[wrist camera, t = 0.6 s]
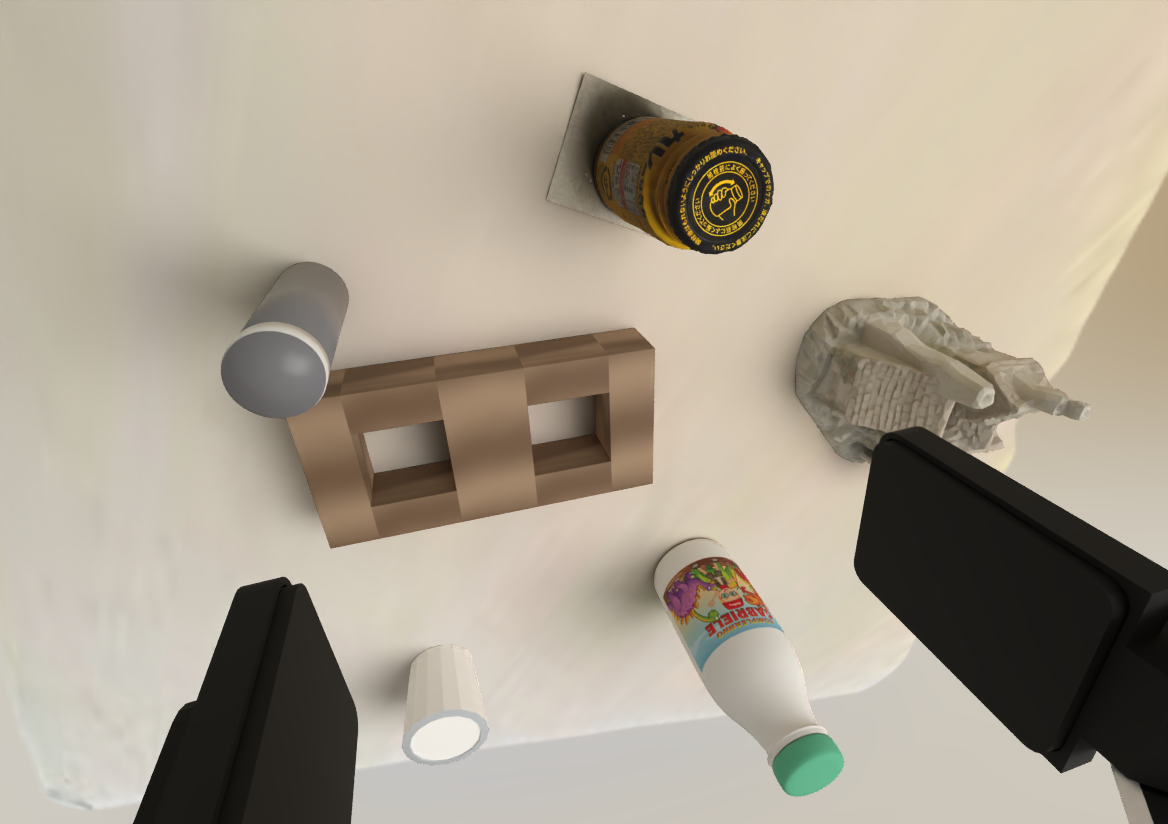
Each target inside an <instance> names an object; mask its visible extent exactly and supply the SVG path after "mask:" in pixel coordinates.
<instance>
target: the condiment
mask: <svg viewBox="0 0 1168 824" xmlns="http://www.w3.org/2000/svg"><path fill="white" fill-rule="evenodd" d="M622 115H625V117H624V118H623V116H622ZM585 172H587V174H588V178H587V177H586V176H585ZM589 179H591V181H592V182H591V183H589ZM773 191H774V183H773V176H772V172H771V165H770V163H769V161H768V160H767V158H766V157H765V155H764V154H763V153H762V151H761V150H760V149H759V148H758V146H757V145H756V144H754V143H752V142H751V141H749V140H748V139H746V138H744V137H739V136H738V135H734V134H732V133H731V132H729V131H728V130H726V129H725V128H723V127H720V126H718V125H716V124H712V123H705V122H700V121H699V122H696V121H694V120H692V119H689V118H687V117H685V116H682V115H680V114H678V113H676V112H673V111H671V110H669V109H667V108H664V107H662V106H660V105H657V104H655V103H653V102H651V101H649V100H646V99H644V98H642V97H640V96H638V95H635V94H633V93H631V92H628V91H626V90H624V89H622V88H619V87H617V86H615V85H613V84H610V83H608V82H606V81H604V80H602V79H600V78H597V77H595V76H593V75H590V74H588V73H586V72H585V75H584V78H583V81H582V84H581V88H580V90H579V93H578V96H577V100H576V103H575V106H574V109H573V113H572V116H571V119H570V122H569V125H568V129H567V132H566V135H565V139H564V142H563V145H562V149H561V151H560V155H559V159H558V163H557V166H556V169H555V172H554V175H553V179H552V183H551V186H550V190H549V193H548V196H547V201H550V202H553V203H555V204H558V205H561V206H564V207H567V208H570V209H573V210H576V211H579V212H582V213H585V214H588V215H591V216H594V217H597V218H600V219H603V220H606V221H609V222H612V223H615V224H618V225H621V226H624V227H627V228H630V229H632V230H635V231H638V232H641V233H644V234H647V235H650V236H653V237H655V238H656V239H658V240H660V241H661V242H663V243H665V244H666V245H669V246H673V247H676V248H679V249H690V250H695V251H699V252H700V253H704V254H719V253H723V252H727V251H734V250H736V249H738V248H739V247H741V246H742V245H744V244H745V243H746V242H748V241H749V240H750V239H751V238H752V237H753V236H754V235H755V234H756V233H757V231H758V230H759V229H760V227H761V226H762V224H763V222H764V220H765V218H766V216H767V214H768V212H769V210H770V207H771V205H772V196H773Z"/></svg>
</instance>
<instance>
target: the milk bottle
mask: <svg viewBox="0 0 1168 824" xmlns="http://www.w3.org/2000/svg"><path fill="white" fill-rule="evenodd" d="M654 586H655V589H656V592H657V594H658V596H659V598H660V600H661V602H662V604H663V606H664V608H665V610H666V612H667V614H668V616H669V618H670V620H671V622H672V624H673V626H674V628H675V630H676V632H677V634H678V636H679V638H680V640H681V642H682V644H683V646H684V648H685V650H686V651H687V653H688V655H689V657H690V659H691V661H692V663H693V665H694V667H695V669H696V671H697V673H698V674H699V676H700V678H701V680H702V682H703V683H704V685H705V687H706V689H707V690H708V692H709V693H710V695H711V696H712V698H713V699H714V701H715V702H716V703H717V705H718V706H719V707H720V708H721V709H722V710H723V711H724V712H725V713H726V714H727V715H728V716H729V717H730V718H731V719H733V720H734V721H735V722H736V723H738V724H739V725H740V726H741V727H743V728H744V729H745V730H746V731H747V732H749V733H750V734H751V735H752V736H753V737H754V738H755V739H756V740H757V741H758V742H759V744H760V745H761V746H762V747H763V748H764V750H765V751H766V753H767V755H768V759H767V760H768V764H769V765H770V766H771V767H772V769H773V772H774V774H775V776H776V778H777V781H778V782H779V784H780V786H781V787H782V789H783V790H784V791H785V792H786V793H787V794H788V795H791V796H805V795H808V794H812V793H814V792H816V791H818V790H820V789H822V788H824V787H825V786H827V785H828V784H830V783H831V782H832V781H833V780H834V779H835V778H836V777H837V776H838V775H839V774H840V772H841V770H842V768H843V765H844V758H843V756H842V754H841V752H840V750H839V749H838V747H837V745H836V744H835V743H834V741H833V740H832V739H831V738H830V737H829V736H828V733H827V731H826V729H825V728H824V727H822V726H819V725H818V723H817V722H816V720H815V718H814V715H813V713H812V710H811V707H810V704H809V700H808V696H807V692H806V686H805V680H804V675H803V671H802V667H801V664H800V661H799V659H798V656H797V654H796V652H795V650H794V648H793V646H792V644H791V642H790V641H789V639H788V638H787V636H786V635H785V633H784V632H783V630H782V628H781V627H780V625H779V624H778V622H777V621H776V620H775V618H774V617H773V615H772V614H771V612H770V611H769V609H768V608H767V607H766V605H765V604H764V602H763V601H762V599H761V598H760V596H759V595H758V594H757V592H756V591H755V589H754V588H753V586H752V585H751V584H750V582H749V581H748V579H747V578H746V577H745V575H744V574H743V572H742V571H741V569H740V568H739V567H738V565H737V564H736V562H735V561H734V560H733V558H732V557H731V555H730V554H729V553H728V552H727V550H726V549H725V548H724V547H723V546H722V545H721V544H719V543H717V542H715V541H712V540H709V539H694V540H689V541H687V542H684V543H681V544H680V545H678V546H676V547H674V548H673V549H672V550H670V551H669V552H668V553H667V554H666V555H665V556H664V557H663V558H662V560H661V561H660V562H659V564H658V566H657V568H656V571H655V576H654Z"/></svg>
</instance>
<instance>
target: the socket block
mask: <svg viewBox="0 0 1168 824" xmlns="http://www.w3.org/2000/svg"><path fill="white" fill-rule="evenodd" d="M654 369H655V348H654V347H653V346H652V345H651V344H650V343H649V342H648V341H647V340H646V339H645V338H644V337H643V336H642V335H641V334H640V333H639V332H638V331H637V330H636V329H635V328H630V329H623V330H616V331H609V332H602V333H595V334H588V335H581V336H574V337H567V338H560V339H553V340H546V341H539V342H532V343H525V344H518V345H511V346H504V347H497V348H490V349H483V350H476V351H469V352H461V353H454V354H447V355H440V356H433V357H426V358H419V359H412V360H405V361H398V362H391V363H384V364H377V365H370V366H363V367H356V368H349V369H342V370H335V371H330V375H329V379H328V382H327V386H326V390H325V392H324V394H323V396H322V397H321V399H320V400H319V401H318V403H317V404H315V405H314V406H313V407H312V408H311V409H309V410H308V411H306V412H304V413H302V414H300V415H297V416H293V417H289V418H286V420H287V423H288V426H289V429H290V431H291V434H292V437H293V440H294V443H295V446H296V449H297V452H298V455H299V458H300V461H301V464H302V467H303V469H304V472H305V475H306V478H307V481H308V484H309V487H310V490H311V493H312V496H313V499H314V502H315V505H316V507H317V510H318V513H319V516H320V519H321V522H322V525H323V528H324V531H325V534H326V537H327V540H328V543H329V545H330V548H336V547H341V546H346V545H351V544H356V543H361V542H366V541H371V540H375V539H380V538H385V537H390V536H395V535H400V534H405V533H410V532H415V531H420V530H425V529H430V528H435V527H440V526H445V525H450V524H455V523H459V522H464V521H469V520H474V519H479V518H484V517H489V516H494V515H499V514H504V513H509V512H514V511H519V510H524V509H529V508H534V507H539V506H543V505H548V504H553V503H558V502H563V501H568V500H573V499H578V498H583V497H588V496H593V495H598V494H603V493H608V492H613V491H618V490H623V489H628V488H632V487H637V486H642V485H647V484H652V483H653V428H654ZM590 395H594V401H595V426H596V434H593V435H587V436H582V437H576V438H571V439H565V440H560V441H554V442H548V443H543V444H537V445H532V444H531V435H530V425H529V416H528V406H530V405H536V404H542V403H548V402H554V401H560V400H566V399H572V398H578V397H584V396H590ZM439 420H444V426H445V431H446V436H447V441H448V447H449V452H450V457H451V460H448V461H443V462H437V463H431V464H426V465H420V466H415V467H409V468H404V469H398V470H392V471H387V472H381V473H376V474H374V472H373V468H372V464H371V461H370V457H369V453H368V450H367V446H366V442H365V439H364V435H363V433H366V432H372V431H378V430H384V429H390V428H396V427H402V426H408V425H414V424H420V423H426V422H433V421H439Z"/></svg>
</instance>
